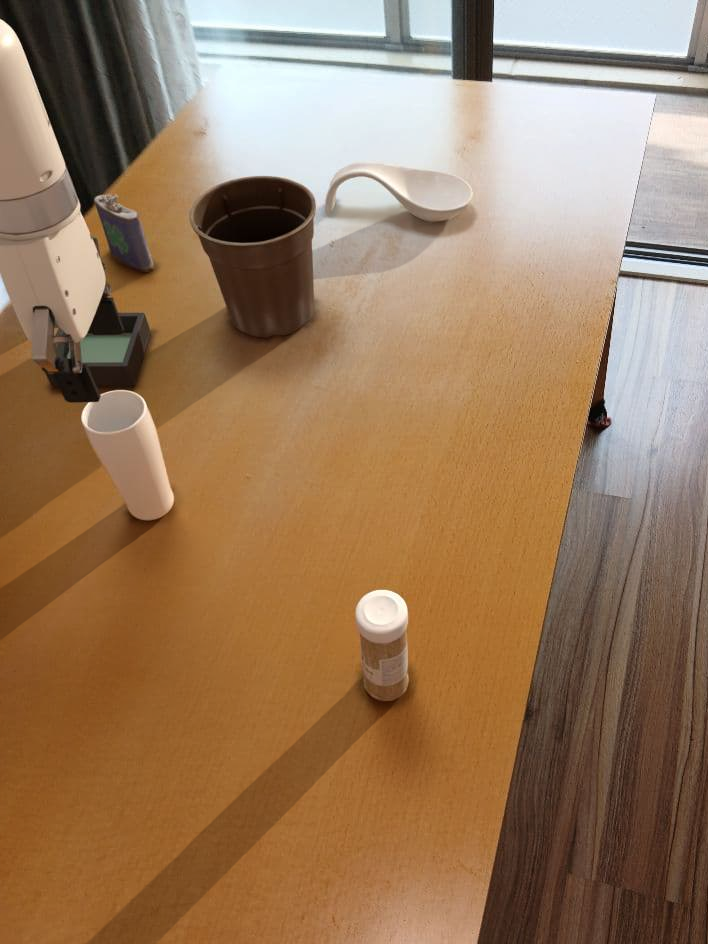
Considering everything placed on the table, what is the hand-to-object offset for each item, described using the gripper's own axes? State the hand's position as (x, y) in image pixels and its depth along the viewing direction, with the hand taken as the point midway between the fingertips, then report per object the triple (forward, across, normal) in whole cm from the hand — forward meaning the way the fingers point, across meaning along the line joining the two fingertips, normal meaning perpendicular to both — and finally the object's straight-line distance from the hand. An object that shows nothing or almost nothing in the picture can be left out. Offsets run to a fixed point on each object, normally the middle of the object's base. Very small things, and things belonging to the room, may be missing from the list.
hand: (96, 365), depth 78 cm
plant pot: (+21, -36, +10) cm, 43 cm away
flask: (+21, -49, -14) cm, 55 cm away
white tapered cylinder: (+21, 0, 0) cm, 21 cm away
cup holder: (+21, -26, -12) cm, 36 cm away
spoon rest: (+21, -62, +28) cm, 71 cm away
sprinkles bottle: (+22, +23, +28) cm, 42 cm away
